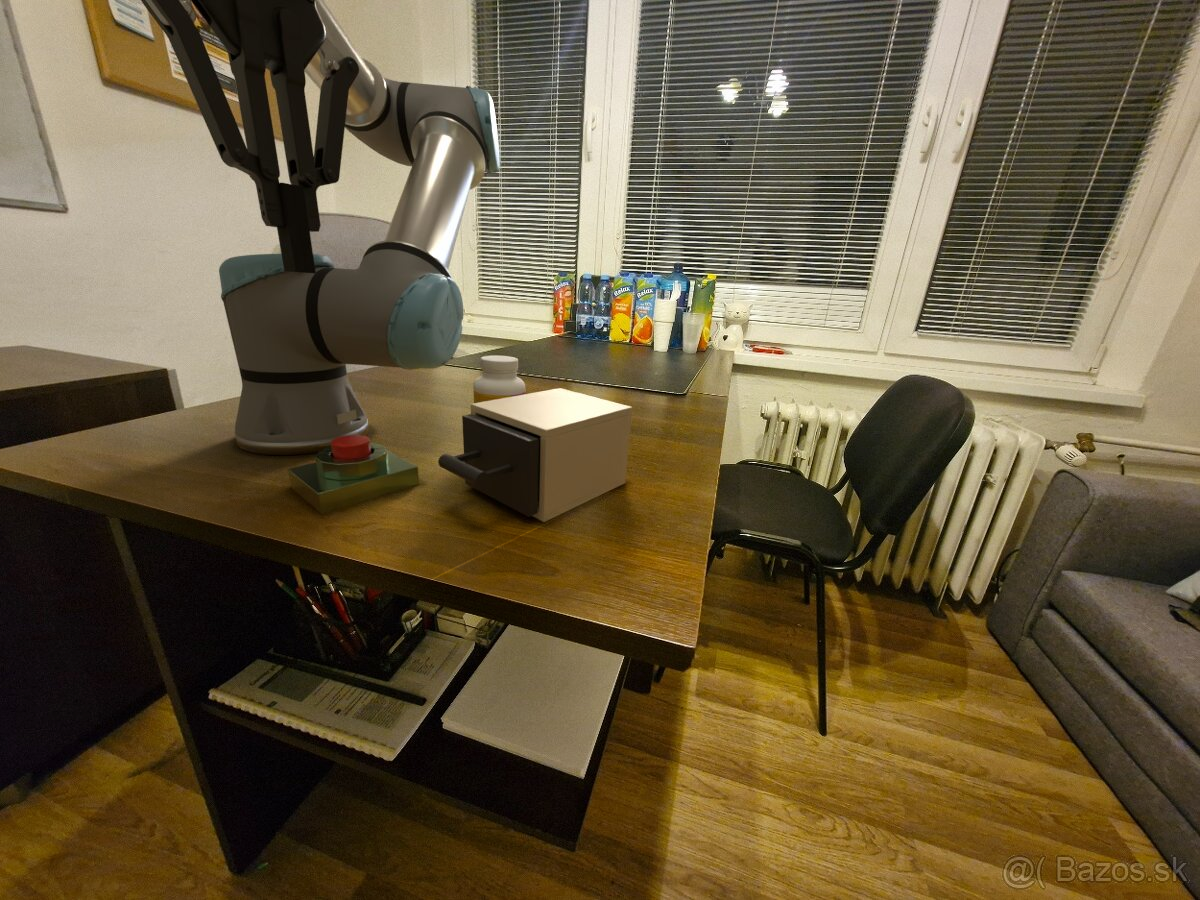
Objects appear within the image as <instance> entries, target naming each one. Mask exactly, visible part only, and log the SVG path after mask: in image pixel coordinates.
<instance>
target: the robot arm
mask: <svg viewBox="0 0 1200 900" xmlns="http://www.w3.org/2000/svg"><path fill="white" fill-rule="evenodd" d="M140 1H141V3H142V5H143V6H144V7H145V9H146V10H147V11H148V12H149V14H150V15H151V17H152V18H153V20H154V21H155V22H156V23H157V24H158V26H159V27H160V29H161V30H162V31H163V32H164V34H165V35H166V36H167V38H168V40H169V43H170V45H171V47H172V49H173V52H174V54H175V57H176V59H177V61H178V63H179V66H180V68H181V71H182V72H183V75H184V77H185V79H186V81H187V84H188V86H189V88H190V90H191V93H192V95H193V97H194V100H195V102H196V104H197V107H198V109H199V111H200V114H201V116H202V118H203V120H204V123H205V125H206V127H207V129H208V132H209V134H210V136H211V139H212V141H213V143H214V145H215V148H216V150H217V152H218V155H219V156H220V159H221V160H222V162H223V163H224V164H225V165H226V166H227V167H229V168H233V169H237V170H239V171H240V172H243V173H244V174H246V175H247V176H249V178H250V180H252V181H253V182H254V184H255V188H256V194H257V199H258V204H259V210H260V216H261V217H260V218H261V220H262V221H263V223H264V225H265V226H266V227H272V228H276V230H277V235H278V236H277V237H278V243H279V247H280V248H279V249H280V253H259V254H258V253H257V254H246V255H237V256H233V257H229V258H227V259H225V260H223V262H221V264H220V266H219V267H218V274H219V282H220V288H221V293H220V298H221V301H222V302H223V306H224V307H223V308H224V311H225V315H226V319H227V324H228V327H229V332H230V337H231V341H232V345H233V349H234V353H235V357H236V362H237V367H238V369H239V375H240V379H241V393H240V398H239V403H238V408H237V414H236V418H235V426H234V435H235V436H234V437H235V440H236V443H237V444H236V445H237V447H239V449H241V450H243V451H246V452H250V453H252V454H259V455H268V456H269V455H271V456H289V455H290V456H291V455H294V456H295V455H304V454H313V453H318V452H319V451H321V450H323V449H326V448H328V447H330V446H331V441H332V440H334V439H336V438H339V437H342V436H348V435H363V436H367V435H368V434H369V433H370V427H369V420H368V417H367V415H366V412H365V410H364V408H363V407H362V405H361V403H360V401H359V399H358V397H357V394H356V393H355V391H354V389H353V387H352V385H351V383H350V380H349V378H348V371H347V365H358V366H371V367H383V368H385V367H386V368H400V369H403V370H409V371H412V370H420V369H431V370H432V369H433V370H434V369H437V368H441V367H443V366H445V365H446V364H447V363H449V361H451V359H452V358H453V357H454V355H455V353H456V351H457V350H458V347H459V344H460V341H461V338H462V333H463V324H462V323H463V321H464V302H463V297H462V293H461V290H460V288H459V285H458V284H457V283H456V282H455V280H454V278H453V276H452V274H451V272H450V271H449V269H450V264H451V260H452V256H453V252H454V250H455V246H456V242H457V238H458V235H459V230H460V227H461V223H462V221H463V216H464V212H465V209H466V205H467V201H468V197H469V193H470V191H471V190H473V189H475V188H476V187H477V186H478V185H479V184H480V183H481V182H482V181H483V178H484V175H485V173H486V174H488V175H491V174H496V173H498V172H499V171H500V167H501V166H500V160H501V159H500V144H499V135H498V134H499V133H498V126H497V125H498V124H497V118H496V111H495V106H494V102H493V99H492V97H491V95H490V93H489V91H487V90H485V89H484V88H483V89H482V88H477V87H472V86H470V85H466V86H465V87H463V86H453V85H443V84H432V83H431V84H429V83H421V82H420V83H417V82H407V81H398V80H393V79H391V78H387V77H384V76H383V75H382V73H381V72H380V71H379V69H378V68H377V67H376V66H375V65H374V64H373V63H372V62H370V61H369V60H367V59H365V58H363V57H362V56H361V54H360V53H359V51H358V50H357V47H355V45H354V44H353V42H352V41H351V40H350V37H349V36H348V34H347V33H346V32H345V30H344V29H343V27H342V26H341V24H340V23H339V22H338V20H337V19H336V17H335V15H334V14H333V12H332V11H331V9H330V8H329V6H328V5H327V3H326V2H325V0H140ZM194 7H195V8H196V10H197V11H198V13H199V14H200V15H201V17H202V18H203V20H204V21H205V22H206V24H207V25H208V26H209V28H210V29H211V30H212V32H213V34H214V35H215V36H216V37H217V38H218V40H219V42H220V43H221V44H222V45H223V47H224V48H225V49H226V51H227V56H228V61H229V67H230V71H231V74H232V76H233V79H234V83H235V88H236V95H237V100H238V106H239V109H240V110H239V111H240V117H241V122H242V127H243V132H244V133H243V134H244V138H245V141H244V138H243V136H242V133H241V130H240V128H239V126H238V124H237V121H236V118H235V116H234V113H233V111H232V108H231V106H230V104H229V100H228V99H227V96H226V94H225V92H224V90H223V86H222V85H221V82H220V79H219V76H218V74H217V72H216V70H215V67H214V64H213V62H212V60H211V57H210V55H209V52H208V49H207V47H206V45H205V43H204V41H203V38H202V36H201V34H200V31H199V29H198V27H197V26H196V24H195V21H196V20H197V13H196V10H195V9H194ZM266 70H268V71H269V75H270V82H271V86H272V88H273V89H274V92H275V98H276V104H277V110H278V117H279V123H280V129H281V137H282V142H283V148H284V155H285V161H286V166H287V168H286V169H287V173H288V178H289V183H286V182H282V181H281V182H280V179H279V178H281V177H280V176H281V171H280V165H279V158H278V152H277V145H276V138H275V133H274V126H273V121H272V120H273V119H272V114H271V107H270V101H269V95H268V89H267V82H266V72H267V71H266ZM306 75H307V76H308V78H309V79H310V80H311V81H312V82H313V84H315V86H316V87H317V88H318V89H319V101H318V111H317V122H316V129H315V130H316V131H315V139H314V149H313V141H312V135H311V134H312V133H311V129H310V128H311V127H310V121H309V113H308V106H307V100H306V99H307V98H306V91H305V88H306V85H307V83H306V82H307V81H306ZM345 129H346V130H347V131H348V132H349V133H350V134H351V135H353V136H354V137H355V138H356V139H357V140H359V141H360V142H362V143H363V144H364V145H366V147H368V148H369V149H371V150H373V151H374V152H376V153H377V154H379V155H381V156H382V157H384V158H386V159H387V160H390V161H392V162H394V163H397V164H399V165H403V166H406V167H410V171H409V173H408V175H407V179H406V181H405V185H404V187H403V190H402V192H401V194H400V198H399V200H398V202H397V205H396V208H395V211H394V213H393V216H392V219H391V221H390V224H389V227H388V229H387V232H386V235H385V238H384V239H383V240H381V241H377V242H375V243H373V244H372V245H371V244H370V246H369V247H368V248H367V249H366V250H365V252H364V254H363V256H362V259H361V261H360V264H359V266H358V268H341V267H335V264H334V263H333V261H332V259H331V258H330V257H329V256H328V255H324V254H318V253H317V254H316V253H314V251H313V245H312V237H311V233H315V232H316V233H317V232H320V229H321V218H320V211H319V210H320V209H319V205H318V204H319V203H318V197H317V190H318V189H319V188H320V187H322V186H328V185H332V184H336V183H338V182H339V180H340V174H341V167H342V166H341V165H342V156H343V148H344V138H345Z"/></svg>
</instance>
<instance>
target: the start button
mask: <svg viewBox="0 0 1200 900" xmlns="http://www.w3.org/2000/svg"><path fill="white" fill-rule="evenodd" d="M370 442H371V438H370V437H369V436H367V435H366V436H363V435H348V436H342V437H339V438H336V439H334V440H332V441H331V446H332V453H333V458H334V459H341V460H348V459H358V458H362V457H367V456H369V455H370V454H372V451H371V443H372V442H371V443H370Z"/></svg>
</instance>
